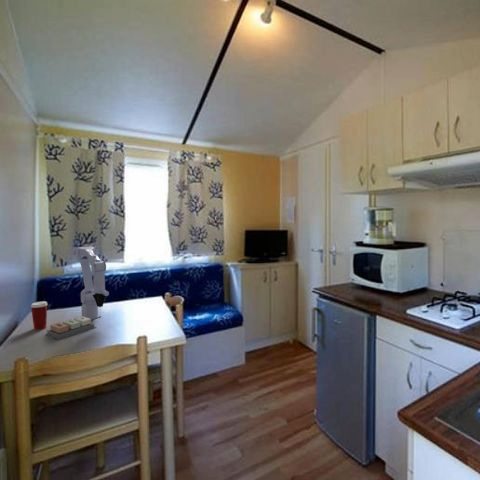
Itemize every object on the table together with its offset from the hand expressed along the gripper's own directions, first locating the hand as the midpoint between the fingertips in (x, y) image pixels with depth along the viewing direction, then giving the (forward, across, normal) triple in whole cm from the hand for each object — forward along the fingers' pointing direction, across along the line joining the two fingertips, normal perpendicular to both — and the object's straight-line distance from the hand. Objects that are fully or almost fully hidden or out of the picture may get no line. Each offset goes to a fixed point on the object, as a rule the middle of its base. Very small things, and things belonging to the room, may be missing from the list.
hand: (100, 306), depth 163 cm
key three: (+8, -4, -20) cm, 22 cm away
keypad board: (+10, -4, -14) cm, 18 cm away
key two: (+8, -4, -14) cm, 17 cm away
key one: (+8, -4, -8) cm, 12 cm away
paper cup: (+11, -23, -21) cm, 33 cm away
